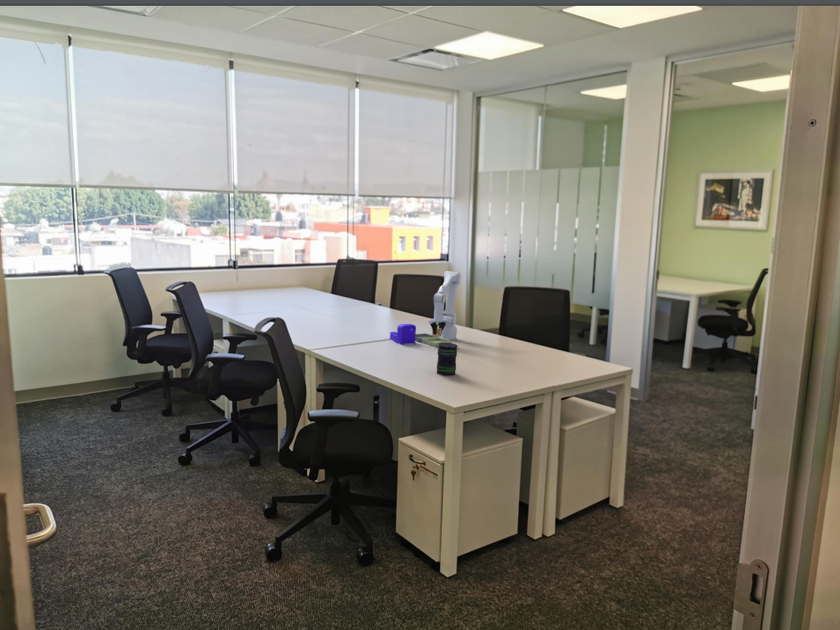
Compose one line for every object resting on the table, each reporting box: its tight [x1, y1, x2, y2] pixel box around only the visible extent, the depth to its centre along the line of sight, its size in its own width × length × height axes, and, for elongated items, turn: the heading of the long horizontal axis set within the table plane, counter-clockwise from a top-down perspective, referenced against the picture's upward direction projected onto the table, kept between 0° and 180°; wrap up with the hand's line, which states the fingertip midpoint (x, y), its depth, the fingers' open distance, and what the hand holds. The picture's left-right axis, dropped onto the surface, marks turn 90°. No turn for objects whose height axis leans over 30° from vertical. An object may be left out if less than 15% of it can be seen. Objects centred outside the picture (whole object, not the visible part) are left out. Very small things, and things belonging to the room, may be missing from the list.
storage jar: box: [436, 342, 458, 377], centre depth 318 cm, size 10×10×15 cm
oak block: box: [431, 327, 442, 337], centre depth 390 cm, size 4×4×5 cm
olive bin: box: [421, 337, 453, 348], centre depth 391 cm, size 14×13×2 cm
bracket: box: [389, 323, 417, 345], centre depth 393 cm, size 18×11×12 cm, turn 38°
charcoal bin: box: [415, 332, 437, 343], centre depth 402 cm, size 14×13×2 cm
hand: (437, 334), depth 390 cm, fingers closed on oak block, 4 cm apart
